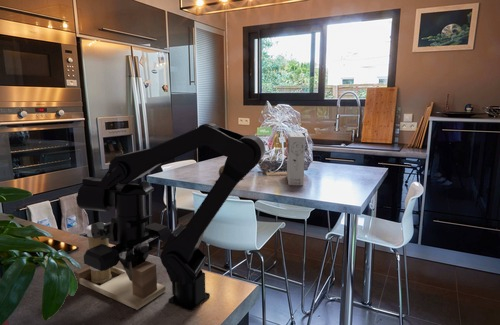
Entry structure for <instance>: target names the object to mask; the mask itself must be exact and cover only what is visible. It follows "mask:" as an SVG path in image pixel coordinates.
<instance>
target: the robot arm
mask: <svg viewBox="0 0 500 325" xmlns="http://www.w3.org/2000/svg"><path fill="white" fill-rule="evenodd" d="M205 146H206V147H209V148H211V149H212V150H213V151H215V152H217V153H218V154H220V155H222V156H224V157H226V160H225V161H224V167H223V171H222V173H221V175H220V176H218V179H216V181H215V183H214V185H212V187H211V189H210V190H209V191H208V193H207V195H206V196H205V198H204V199H203V200H202V202H201V204H200V205H199V206H198V208H197V209H196V211H195V213H194V214H193V215H192V217H191V219H190V220H189V222H188V223H187V224H186V226H185V225H184V224H183V223H179V224H178V225H177V226H176V227H175V228H174V229H173V230H171V229H170V227H169V226H167V225H164V224H161V223H158V222H153V223H150V224H148V225H146V224H145V223H147V222H150V218H149V215H148V216H147V215H145V196H147V195H149V194H150V193H152V192H154V190H155V188H154V187H153V186H151V185H150V184H149V183H148V182H147V180H143V181H141V182H139V183H131V182H134V181H135V180H138V179H140V178H142V177H144V176H146V175H147V174H148V173H150V172H152V171H153V170H154V169H156V168H157V167H159V166H160V165H161V164H163V163H166V162H168V161H170V160H173V159H175V158H177V157H180V156H182V155H185V154H187V153H190V152H192V151H195V150H197V149H199V148H201V147H205ZM265 153H266V146H265V143H264V141H263V140H262V138H260V137H259V136H257V135H255V134H248V135H244V134H241V133H239V132H236V131H233V130H230V129H227V128H224V127H221V126H220V125H217V124H215V123H213V122H207V123H205V124H204V123H203V124H200V125H199V126H198V127H196V128H193V129H191V130H189V131H187V132H185V133H182V134H179V136H176V137H174V138H171V139H169V140H167V141H164V142H162V143H159V144H158V145H154V146H153V147H149V148H145V149H140V150H135V151H134V150H133V151H131V152H127V153H124V154H121V155H117V156H114V157H113V158H111V159H110V161H109V164H108V170H107V171H106V173H105V174H104V175H103V178H96V177H91V176H87V177H85V178H82V185H80V187H79V189H78V192H77V196H76V198H75V199H76V204H77V206H78V207H79V208H80V209H81V210H88V211H89V210H91V211H100V212H110V211H111V210H112V209H113V208H115V212H114V213H115V216H113V217H111V219H110V221H109V222H108V221H107V222H106V224H104V222H103V221H98V222H95V223H92V224H90V225H91V233H92V237H93V238H94V239H96V238H101V240H104V239H106V238H108V239H109V241H110V242H112V243H116V244H115V245H113V246H110V245H109V246H106V245H104V244H100V245H98V246H95V247H93V248H91V249H89V248H88V249H86V250H85V251H84V253H83V264H84V265H85V266H87V265H88V266H91V267H93V268H95V269H98V270H100V271H105V270H107V269H109V268H111V267H116V266H117V265H118V264H119V263H121V265H122V267H123V270H125V271H126V273H127V275H128V277H129V280H130V281H132V270H131V268H133V267H135V266H137V265H139V264H141V263H143V262H145V261H147V259H148V258H149V256H150V253H151V252H152V251H154V247H152V246H150V245H149V242H150V241H152V240H153V239H156V238H158V241H160V242H162V243H163V245H162V246H161V247H159V248H160V250H162V251H161V253H160V255H159V259H160V262H161V264H162V266H163V267H164V268H165V270H166V273H167V275H168V278H169V280H170V282H171V288H172V289H171V290H172V296H171V297H169V298H168V300H167V301H168V303H169V304H172V305H175V306H177V307H179V308H181V309H184V310H187V311H189V312H193V311H194V310H196V308H198V307H199V306H200V305H201V304H203V303H205V301H207V300H208V299H209V298H210V297H211V294H210V293H209V292H206V273H205V272H203V267H204V266H205V265H206V263H207V260H208V255H207V254H206V253H205V252H204V251H203V250H202V249H201V248H200V244H201V242H202V239H203V236H204V233H205V232H206V230H207V229H208V228H209V226H210V224H211V223H212V221H213V220H214V218H215V217H216V215H217V214H218V213H219V211H221V208H222V207H223V206H224V204H225V202H226V201H227V200H228V198H229V197H230V196H231V194H232V192H233V191H234V190H235V188H236V187H237V185H238V184H239V183H240V182H241V181H242V180H243V179H244V178H245V177H247V175H248V174H249V173H250V172H251V171H252V170H253V169H254V168H255V167H256V166H257V165H259V163H260V161H261V160H262V158H264V156H265ZM120 185H124V186H120Z"/></svg>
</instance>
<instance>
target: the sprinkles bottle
mask: <svg viewBox="0 0 500 325" xmlns="http://www.w3.org/2000/svg"><path fill="white" fill-rule="evenodd" d="M103 223H104V222H103ZM106 223H107V222H106ZM106 223H104V224H106ZM86 236H87V239H88V240H87V242H88V249H91V248H93V247H95V246H98V245H100V244H104V245H106V246H109V247H110V243H109V241H110V240H109V238H106V239H104V240H101V238H96V239H94V238H93V237H92V233H91V224H89V225H88V226H86ZM90 268H91V278H90V282H92V283H94V284H104V283H106V282H108V281H110V280H112V271H111V269H110V268H109V269H107V270H105V271H100V270H98V269H95V268H93V267H91V266H90Z"/></svg>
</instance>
